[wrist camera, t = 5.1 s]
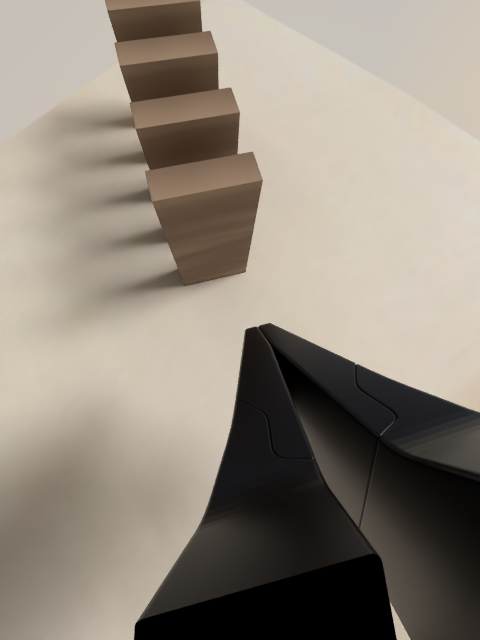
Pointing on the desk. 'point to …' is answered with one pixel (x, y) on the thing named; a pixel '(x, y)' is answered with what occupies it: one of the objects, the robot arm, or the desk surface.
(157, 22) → the domino
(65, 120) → the desk surface
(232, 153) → the domino
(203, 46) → the domino
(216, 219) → the domino
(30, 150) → the desk surface
